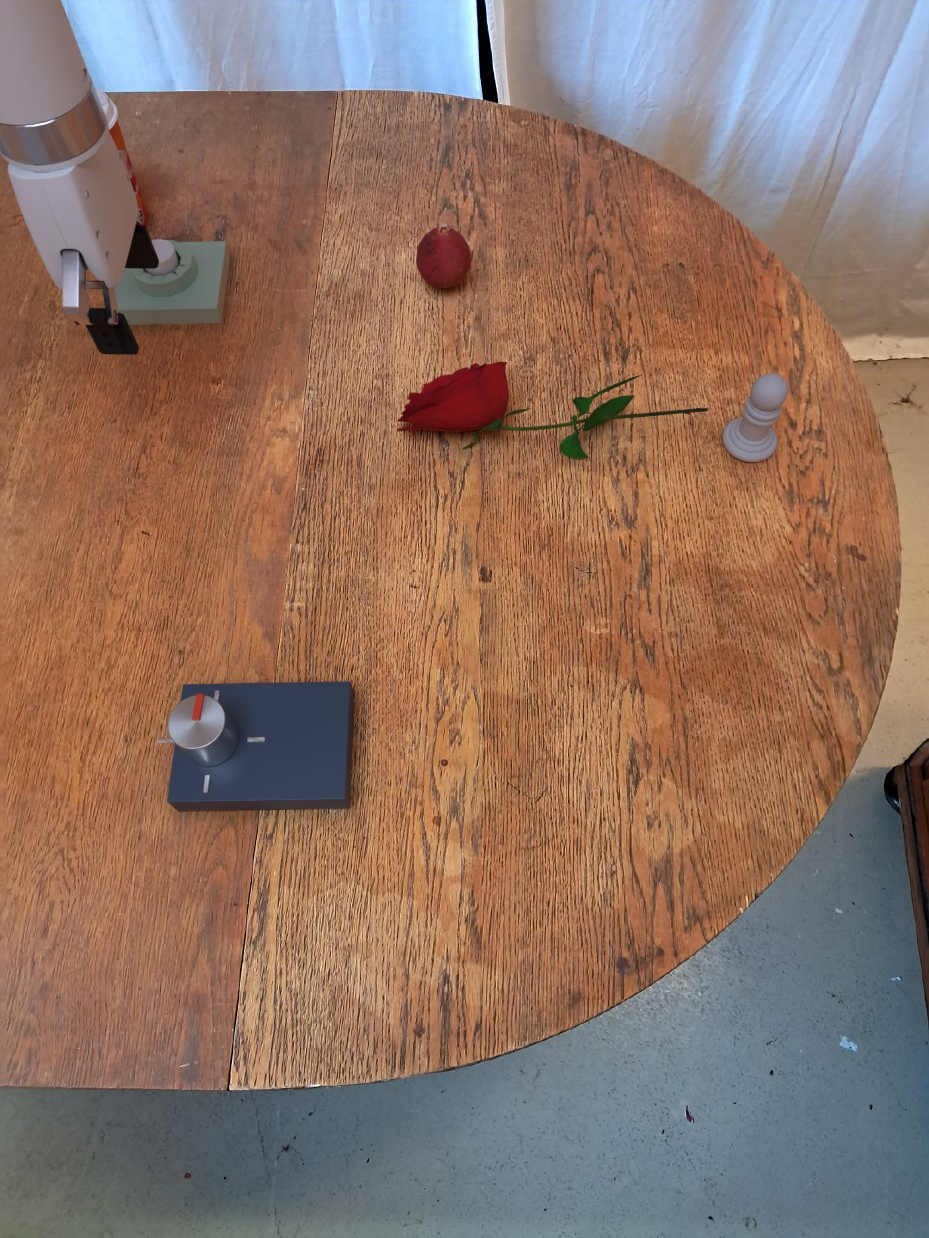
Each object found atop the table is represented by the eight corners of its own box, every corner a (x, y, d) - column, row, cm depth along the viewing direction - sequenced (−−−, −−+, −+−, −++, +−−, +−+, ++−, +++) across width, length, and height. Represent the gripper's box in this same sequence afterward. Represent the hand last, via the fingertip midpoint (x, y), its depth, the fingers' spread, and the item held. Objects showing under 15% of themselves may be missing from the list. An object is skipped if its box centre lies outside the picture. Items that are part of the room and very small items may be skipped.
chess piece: (714, 453, 88) (738, 392, 80) (730, 414, 90) (755, 350, 82) (766, 471, 87) (796, 411, 79) (782, 431, 89) (812, 369, 81)
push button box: (110, 325, 96) (96, 297, 93) (124, 258, 101) (111, 229, 97) (221, 323, 96) (212, 295, 93) (231, 257, 101) (222, 227, 97)
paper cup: (125, 254, 101) (75, 140, 88) (75, 229, 103) (20, 113, 90) (171, 214, 104) (130, 97, 91) (122, 189, 106) (75, 72, 93)
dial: (234, 767, 71) (219, 748, 67) (180, 766, 71) (161, 747, 67) (242, 715, 73) (228, 693, 69) (189, 714, 73) (171, 692, 69)
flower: (715, 335, 80) (383, 354, 82) (718, 442, 80) (387, 457, 83) (698, 361, 89) (399, 377, 92) (700, 457, 89) (402, 470, 92)
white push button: (142, 277, 94) (136, 263, 93) (147, 252, 96) (141, 239, 95) (176, 276, 94) (171, 263, 93) (180, 252, 96) (176, 238, 95)
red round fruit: (430, 311, 97) (427, 251, 90) (410, 276, 99) (405, 215, 92) (479, 295, 98) (480, 234, 91) (458, 260, 100) (456, 198, 93)
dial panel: (162, 812, 73) (149, 801, 70) (177, 697, 77) (166, 683, 74) (349, 808, 73) (344, 798, 70) (354, 694, 77) (350, 680, 74)
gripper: (20, 37, 64) (107, 235, 79) (-45, 204, 56) (65, 387, 72) (124, 38, 64) (191, 236, 79) (73, 205, 56) (158, 388, 72)
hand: (131, 307), depth 76 cm, fingers open, 9 cm apart
